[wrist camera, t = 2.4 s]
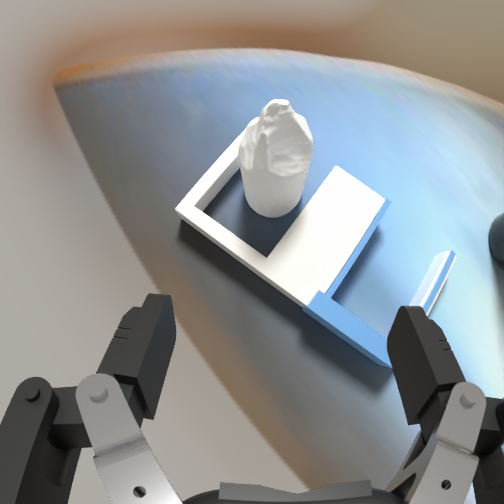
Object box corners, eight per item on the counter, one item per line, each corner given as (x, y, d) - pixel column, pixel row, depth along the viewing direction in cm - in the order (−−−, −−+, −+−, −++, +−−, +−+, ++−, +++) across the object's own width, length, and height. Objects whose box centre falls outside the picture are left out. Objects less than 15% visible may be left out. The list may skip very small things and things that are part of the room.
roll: (304, 163, 18) (215, 129, 18) (287, 227, 29) (231, 203, 30) (336, 93, 19) (257, 66, 20) (311, 174, 31) (258, 152, 31)
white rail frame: (257, 131, 32) (257, 110, 28) (443, 262, 28) (462, 254, 25) (179, 220, 30) (170, 206, 26) (383, 368, 26) (399, 372, 23)
